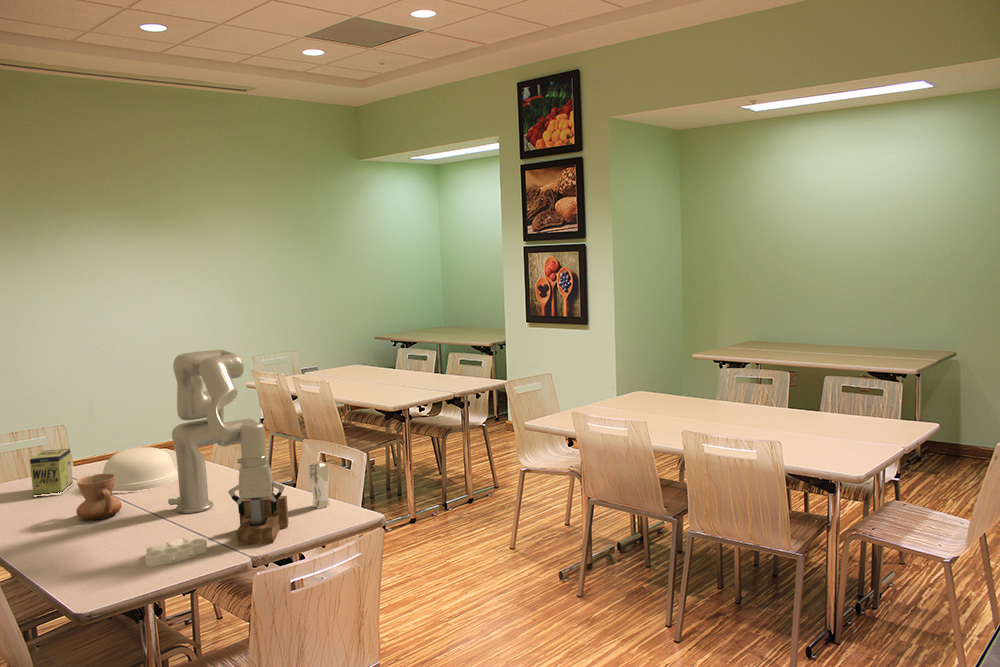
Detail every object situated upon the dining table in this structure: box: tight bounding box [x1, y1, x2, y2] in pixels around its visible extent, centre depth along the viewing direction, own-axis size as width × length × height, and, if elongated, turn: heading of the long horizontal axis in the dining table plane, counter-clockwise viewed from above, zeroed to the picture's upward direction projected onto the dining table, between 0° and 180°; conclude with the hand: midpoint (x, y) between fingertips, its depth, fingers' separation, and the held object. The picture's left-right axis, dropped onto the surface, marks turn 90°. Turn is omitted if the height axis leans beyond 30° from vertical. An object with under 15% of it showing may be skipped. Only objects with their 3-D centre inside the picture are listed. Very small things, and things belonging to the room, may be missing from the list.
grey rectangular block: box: [250, 498, 265, 526], centre depth 252 cm, size 3×6×12 cm, turn 6°
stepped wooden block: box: [236, 495, 290, 547], centre depth 253 cm, size 15×17×10 cm
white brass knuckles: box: [144, 537, 208, 567], centre depth 239 cm, size 3×18×15 cm
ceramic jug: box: [76, 472, 123, 521], centre depth 280 cm, size 18×14×14 cm
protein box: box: [29, 448, 74, 495], centre depth 316 cm, size 10×16×16 cm
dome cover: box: [102, 446, 178, 491], centre depth 323 cm, size 32×30×14 cm
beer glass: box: [308, 462, 331, 508], centre depth 282 cm, size 7×7×15 cm
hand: (258, 514), depth 251 cm, fingers open, 9 cm apart
